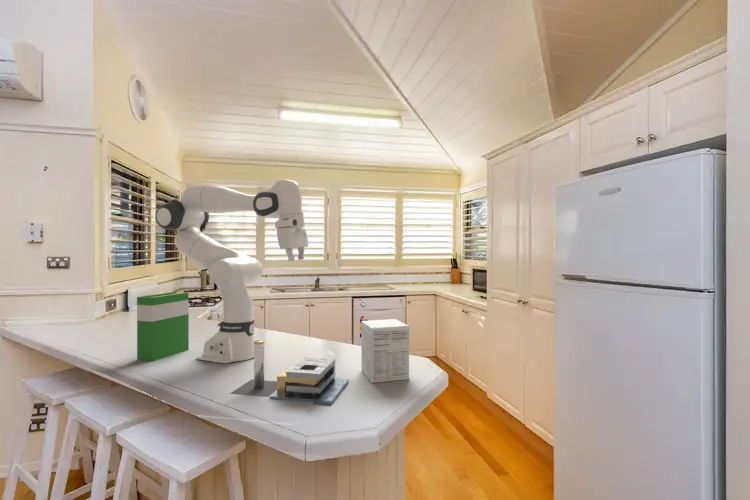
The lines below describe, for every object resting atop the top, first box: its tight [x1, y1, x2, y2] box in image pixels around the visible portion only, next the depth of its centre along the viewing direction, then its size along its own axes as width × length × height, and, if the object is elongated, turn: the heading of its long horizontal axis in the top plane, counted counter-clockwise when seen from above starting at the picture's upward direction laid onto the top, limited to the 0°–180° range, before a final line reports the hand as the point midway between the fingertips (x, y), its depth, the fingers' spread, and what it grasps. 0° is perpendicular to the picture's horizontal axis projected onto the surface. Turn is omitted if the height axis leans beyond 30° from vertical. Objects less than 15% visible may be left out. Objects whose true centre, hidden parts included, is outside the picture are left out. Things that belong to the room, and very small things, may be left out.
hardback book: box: [136, 291, 190, 362], centre depth 152 cm, size 18×7×24 cm, turn 162°
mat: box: [229, 379, 277, 398], centre depth 115 cm, size 12×12×1 cm
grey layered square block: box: [269, 356, 350, 406], centre depth 114 cm, size 18×18×8 cm
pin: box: [253, 339, 265, 389], centre depth 115 cm, size 3×3×14 cm
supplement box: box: [360, 318, 410, 384], centre depth 128 cm, size 13×13×18 cm
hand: (296, 260), depth 140 cm, fingers open, 8 cm apart
